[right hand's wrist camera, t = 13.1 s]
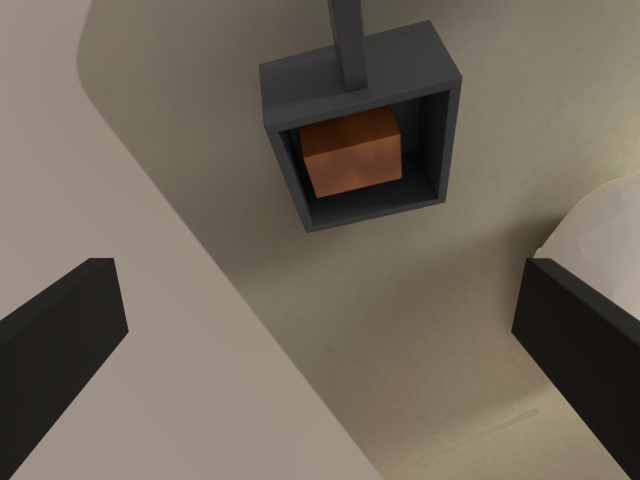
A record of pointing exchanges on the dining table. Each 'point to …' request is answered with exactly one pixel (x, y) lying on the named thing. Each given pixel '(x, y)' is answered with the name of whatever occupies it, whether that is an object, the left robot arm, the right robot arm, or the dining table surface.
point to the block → (352, 151)
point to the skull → (603, 241)
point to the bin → (359, 95)
